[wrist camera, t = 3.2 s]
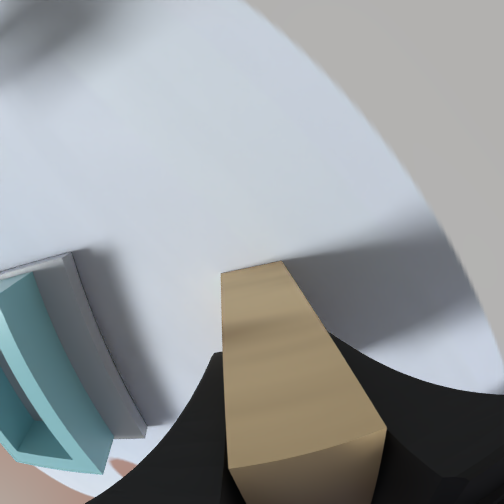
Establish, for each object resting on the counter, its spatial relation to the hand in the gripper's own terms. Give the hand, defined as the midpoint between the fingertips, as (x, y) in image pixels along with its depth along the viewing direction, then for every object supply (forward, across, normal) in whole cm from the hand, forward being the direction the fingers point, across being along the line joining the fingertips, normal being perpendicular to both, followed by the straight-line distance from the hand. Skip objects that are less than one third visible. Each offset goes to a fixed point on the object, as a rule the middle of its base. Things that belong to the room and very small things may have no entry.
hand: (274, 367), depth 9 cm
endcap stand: (+3, +11, 0) cm, 11 cm away
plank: (+3, 0, 0) cm, 3 cm away
